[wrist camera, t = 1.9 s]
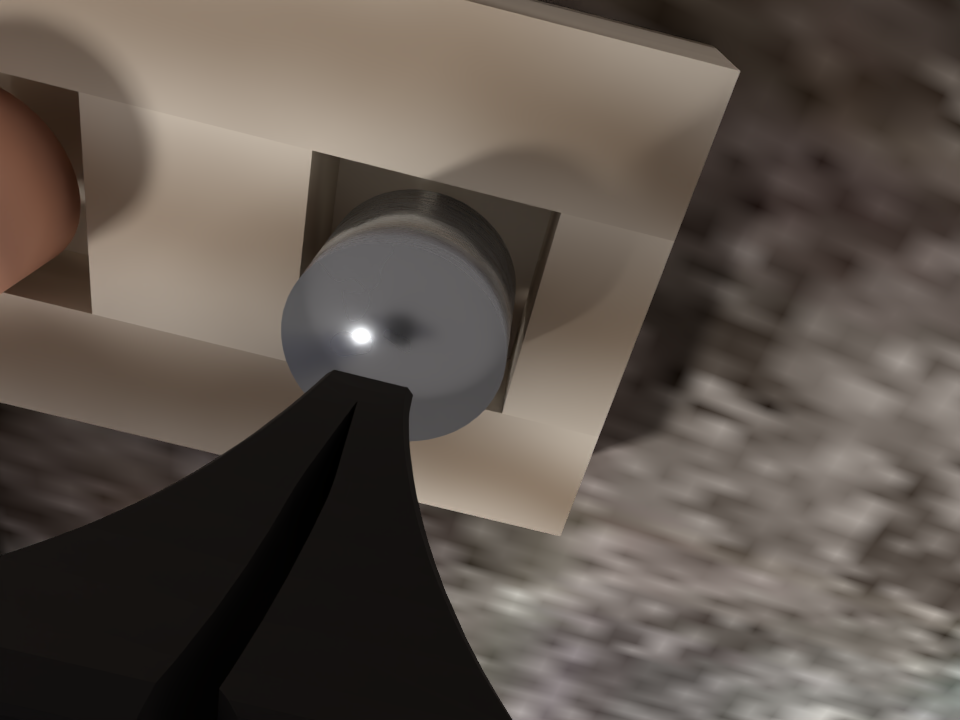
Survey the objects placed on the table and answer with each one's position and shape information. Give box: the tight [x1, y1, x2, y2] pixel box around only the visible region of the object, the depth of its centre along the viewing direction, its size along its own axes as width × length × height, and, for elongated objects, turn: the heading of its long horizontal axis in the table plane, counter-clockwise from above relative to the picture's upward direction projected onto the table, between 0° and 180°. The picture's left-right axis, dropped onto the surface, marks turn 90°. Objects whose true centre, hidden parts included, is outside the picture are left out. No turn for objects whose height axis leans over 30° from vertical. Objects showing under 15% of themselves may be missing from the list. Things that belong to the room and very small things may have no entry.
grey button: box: [281, 189, 516, 441], centre depth 16 cm, size 4×4×3 cm
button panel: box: [0, 0, 740, 536], centre depth 18 cm, size 12×20×3 cm, turn 77°
